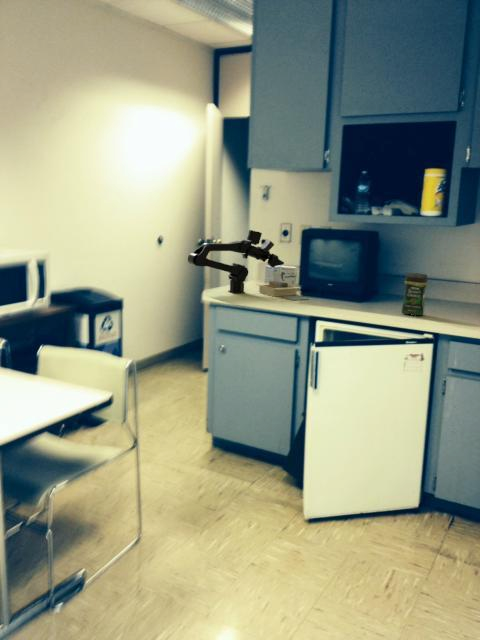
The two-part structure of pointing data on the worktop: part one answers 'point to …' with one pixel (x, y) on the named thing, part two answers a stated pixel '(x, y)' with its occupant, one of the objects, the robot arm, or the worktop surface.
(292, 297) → the mat
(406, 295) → the coffee jar
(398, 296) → the worktop surface
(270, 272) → the light bulb box
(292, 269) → the ink box
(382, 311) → the worktop surface
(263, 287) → the beige open box
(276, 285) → the gray and brown box
